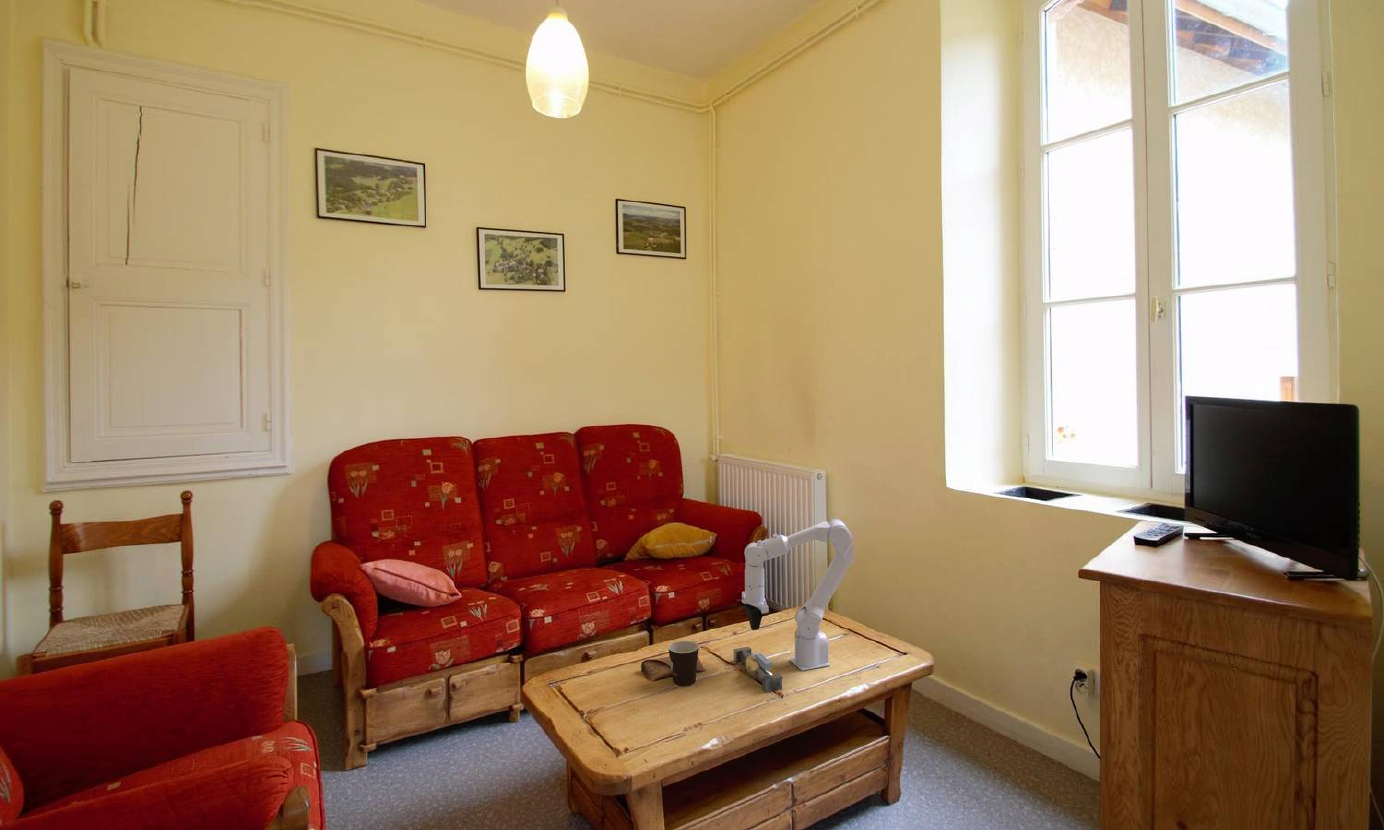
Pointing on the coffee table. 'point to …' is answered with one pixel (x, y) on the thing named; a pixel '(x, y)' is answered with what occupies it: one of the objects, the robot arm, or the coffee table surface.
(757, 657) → the lever
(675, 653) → the coffee mug
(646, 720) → the coffee table surface
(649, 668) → the sunglasses case
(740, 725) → the coffee table surface
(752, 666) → the valve body
